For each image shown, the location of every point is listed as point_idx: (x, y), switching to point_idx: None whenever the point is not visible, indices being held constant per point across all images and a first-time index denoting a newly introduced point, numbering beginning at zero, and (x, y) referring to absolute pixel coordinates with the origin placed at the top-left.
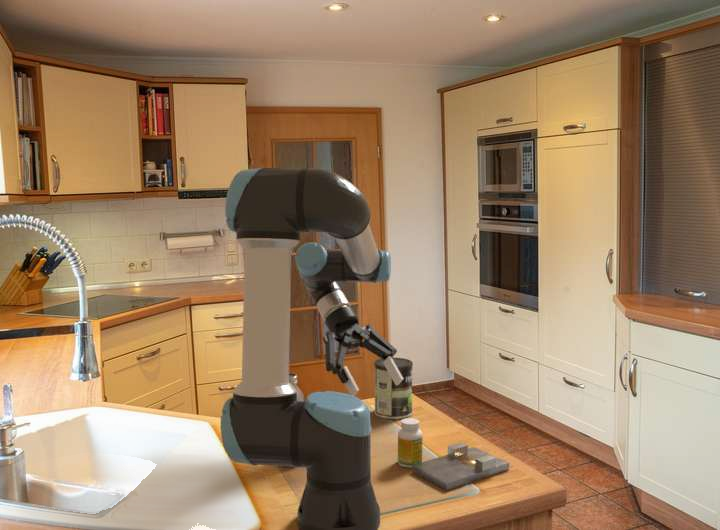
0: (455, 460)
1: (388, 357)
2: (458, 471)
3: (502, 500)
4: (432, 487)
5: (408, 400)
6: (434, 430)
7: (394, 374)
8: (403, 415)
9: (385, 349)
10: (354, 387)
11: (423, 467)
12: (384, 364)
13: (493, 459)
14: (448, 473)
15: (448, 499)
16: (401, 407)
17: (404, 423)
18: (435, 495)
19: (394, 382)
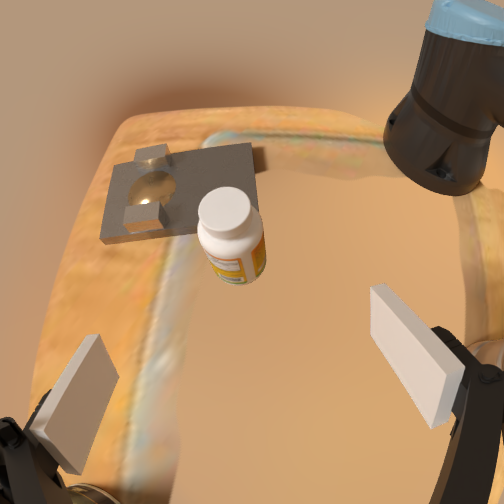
0: (172, 202)
1: (47, 429)
2: (202, 166)
3: (205, 112)
4: (265, 166)
5: None
6: None
7: (94, 382)
8: (89, 487)
9: (15, 475)
10: (394, 295)
11: None
12: (83, 462)
13: (142, 149)
14: (223, 166)
15: (267, 133)
16: (82, 493)
17: (249, 200)
18: (277, 147)
19: (114, 385)
